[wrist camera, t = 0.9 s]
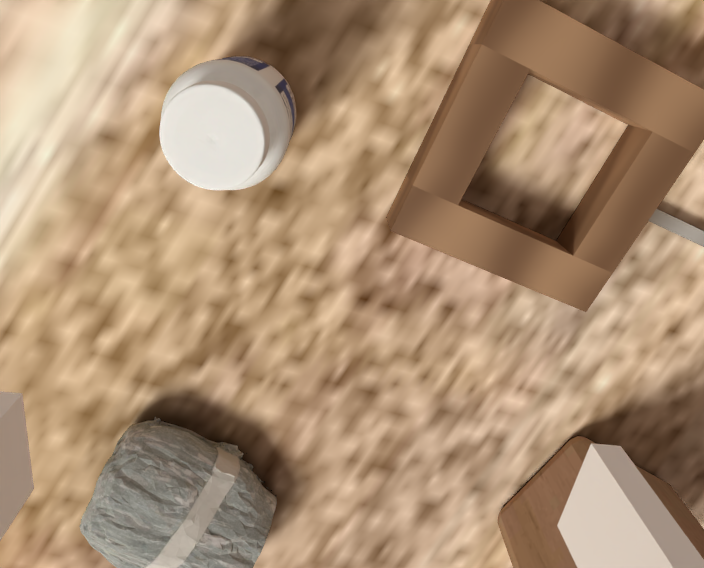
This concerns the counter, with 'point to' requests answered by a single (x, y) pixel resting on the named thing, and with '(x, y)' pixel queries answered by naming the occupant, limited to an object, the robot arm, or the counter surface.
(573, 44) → the brown square frame
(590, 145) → the counter surface
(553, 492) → the wooden block
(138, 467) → the decorative stone
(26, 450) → the robot arm
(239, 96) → the pill bottle
